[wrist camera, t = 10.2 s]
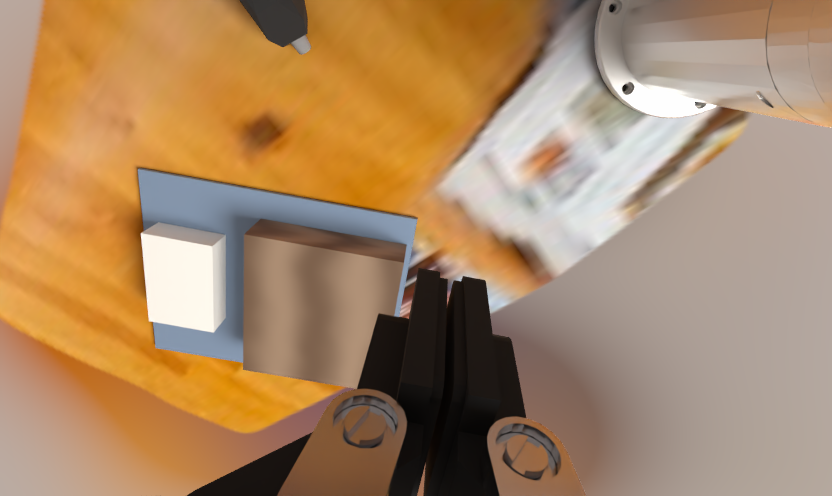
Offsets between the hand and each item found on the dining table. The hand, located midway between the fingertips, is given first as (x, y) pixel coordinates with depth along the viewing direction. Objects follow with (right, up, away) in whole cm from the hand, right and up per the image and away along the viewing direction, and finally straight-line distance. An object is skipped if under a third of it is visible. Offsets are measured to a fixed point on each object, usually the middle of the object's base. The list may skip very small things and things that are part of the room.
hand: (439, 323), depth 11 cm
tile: (-22, -1, +27) cm, 35 cm away
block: (-9, -3, +30) cm, 31 cm away
